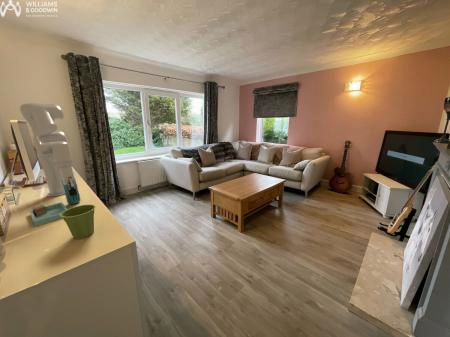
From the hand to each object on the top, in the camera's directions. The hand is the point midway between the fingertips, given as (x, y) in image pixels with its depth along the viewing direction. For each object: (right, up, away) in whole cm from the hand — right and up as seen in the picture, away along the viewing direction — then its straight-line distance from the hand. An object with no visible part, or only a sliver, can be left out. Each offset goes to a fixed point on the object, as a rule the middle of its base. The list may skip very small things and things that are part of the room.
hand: (72, 193), depth 111 cm
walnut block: (-8, -9, -11) cm, 16 cm away
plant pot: (+30, -14, -30) cm, 44 cm away
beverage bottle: (0, -7, +2) cm, 7 cm away
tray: (-1, -10, -12) cm, 16 cm away
